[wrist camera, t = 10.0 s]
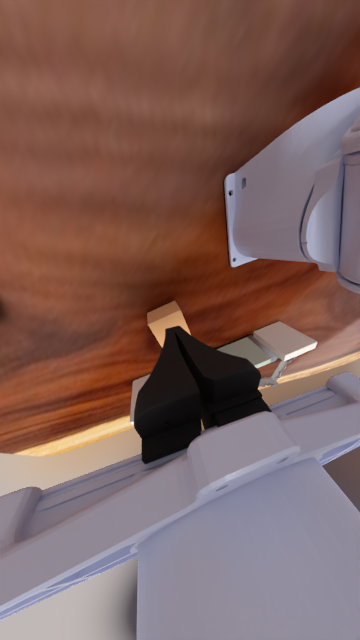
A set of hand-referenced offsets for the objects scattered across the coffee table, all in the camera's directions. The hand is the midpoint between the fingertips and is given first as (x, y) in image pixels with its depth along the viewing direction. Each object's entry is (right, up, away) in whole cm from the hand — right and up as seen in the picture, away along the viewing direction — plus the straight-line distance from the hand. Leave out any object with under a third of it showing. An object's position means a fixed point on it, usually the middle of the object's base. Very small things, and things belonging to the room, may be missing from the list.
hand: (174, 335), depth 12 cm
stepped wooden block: (-1, 0, +10) cm, 10 cm away
